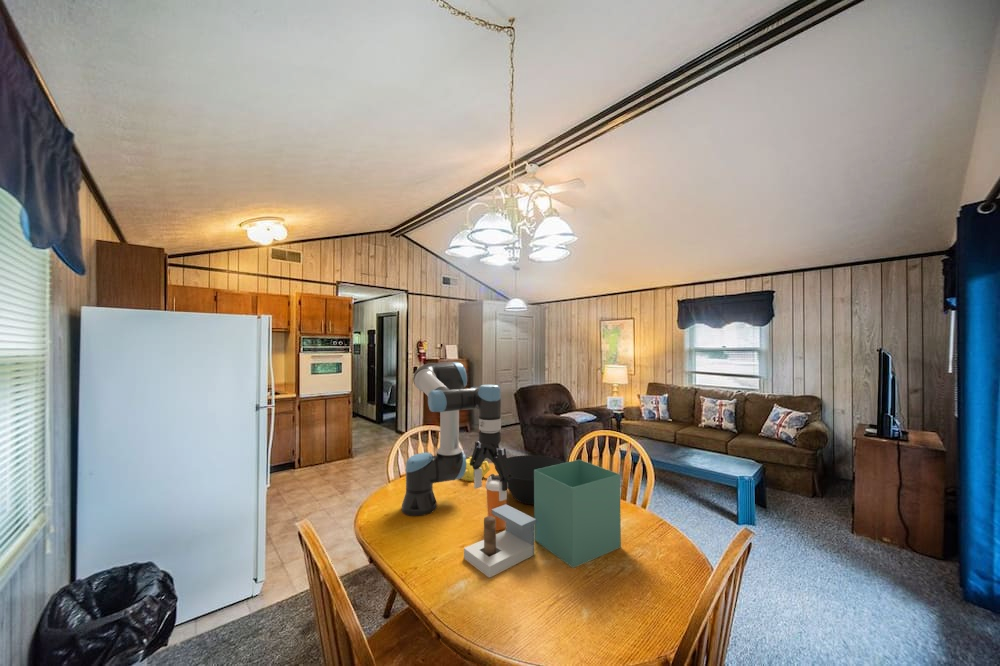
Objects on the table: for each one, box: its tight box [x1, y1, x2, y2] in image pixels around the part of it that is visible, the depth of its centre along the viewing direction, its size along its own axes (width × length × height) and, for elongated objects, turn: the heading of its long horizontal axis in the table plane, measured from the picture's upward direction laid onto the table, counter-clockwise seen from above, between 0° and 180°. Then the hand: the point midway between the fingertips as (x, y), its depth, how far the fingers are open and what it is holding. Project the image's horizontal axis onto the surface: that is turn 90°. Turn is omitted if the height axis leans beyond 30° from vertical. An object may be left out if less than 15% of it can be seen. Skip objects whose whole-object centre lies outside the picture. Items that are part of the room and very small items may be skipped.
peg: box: [483, 515, 497, 557], centre depth 127 cm, size 4×4×14 cm
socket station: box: [463, 503, 536, 579], centre depth 130 cm, size 16×20×12 cm
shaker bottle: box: [485, 473, 508, 531], centre depth 151 cm, size 9×9×20 cm
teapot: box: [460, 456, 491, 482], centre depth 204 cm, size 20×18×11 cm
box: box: [533, 459, 622, 569], centre depth 138 cm, size 23×21×26 cm
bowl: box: [494, 454, 566, 505], centre depth 178 cm, size 36×36×15 cm
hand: (490, 493), depth 128 cm, fingers open, 13 cm apart
